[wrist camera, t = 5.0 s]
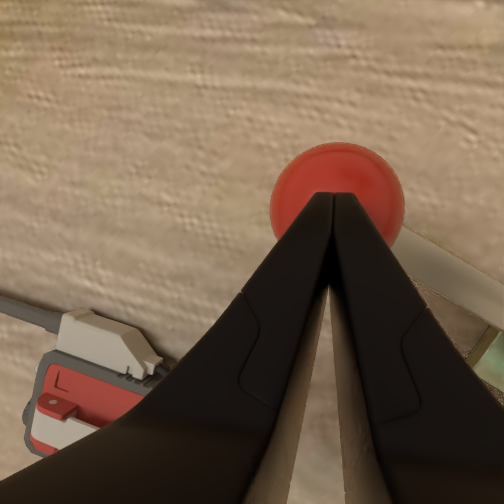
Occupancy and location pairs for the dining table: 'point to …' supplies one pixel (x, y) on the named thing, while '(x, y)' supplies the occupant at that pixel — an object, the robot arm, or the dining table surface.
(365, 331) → the robot arm
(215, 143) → the dining table surface
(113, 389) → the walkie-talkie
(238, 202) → the dining table surface
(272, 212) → the switch lever
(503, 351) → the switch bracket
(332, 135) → the dining table surface
